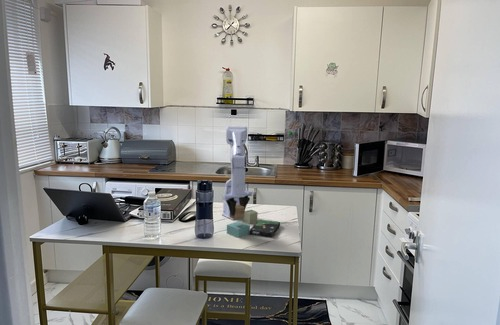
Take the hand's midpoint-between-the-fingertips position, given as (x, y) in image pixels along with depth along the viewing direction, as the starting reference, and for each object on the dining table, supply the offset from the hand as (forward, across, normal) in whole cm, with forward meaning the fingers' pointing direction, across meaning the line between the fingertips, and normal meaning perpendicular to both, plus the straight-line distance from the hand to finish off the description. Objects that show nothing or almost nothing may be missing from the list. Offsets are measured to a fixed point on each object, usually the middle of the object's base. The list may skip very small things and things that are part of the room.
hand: (237, 214), depth 164 cm
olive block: (+8, +14, +8) cm, 19 cm away
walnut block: (+2, 0, 0) cm, 2 cm away
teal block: (+9, 0, -1) cm, 9 cm away
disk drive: (+9, +12, -4) cm, 16 cm away
